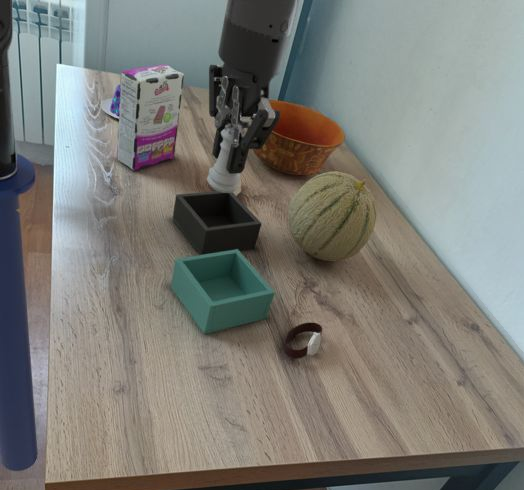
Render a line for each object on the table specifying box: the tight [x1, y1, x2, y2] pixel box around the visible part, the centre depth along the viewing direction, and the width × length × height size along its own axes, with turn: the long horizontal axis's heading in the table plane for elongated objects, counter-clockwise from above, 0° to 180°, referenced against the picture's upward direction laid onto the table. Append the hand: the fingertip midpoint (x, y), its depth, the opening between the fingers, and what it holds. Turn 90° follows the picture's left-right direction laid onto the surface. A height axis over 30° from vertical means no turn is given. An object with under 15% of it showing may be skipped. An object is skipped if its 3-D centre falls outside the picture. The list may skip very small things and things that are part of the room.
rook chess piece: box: [206, 124, 246, 193], centre depth 70 cm, size 4×4×8 cm
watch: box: [283, 322, 323, 360], centre depth 76 cm, size 8×5×4 cm, turn 147°
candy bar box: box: [116, 64, 185, 171], centre depth 100 cm, size 11×5×16 cm, turn 143°
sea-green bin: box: [170, 249, 276, 335], centre depth 78 cm, size 11×11×5 cm
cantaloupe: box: [287, 171, 377, 262], centre depth 92 cm, size 15×15×15 cm
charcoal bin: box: [171, 190, 262, 255], centre depth 91 cm, size 11×11×5 cm
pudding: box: [100, 84, 120, 120], centre depth 116 cm, size 12×12×5 cm
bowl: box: [249, 99, 346, 176], centre depth 116 cm, size 21×21×10 cm
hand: (227, 163), depth 71 cm, fingers closed on rook chess piece, 3 cm apart
